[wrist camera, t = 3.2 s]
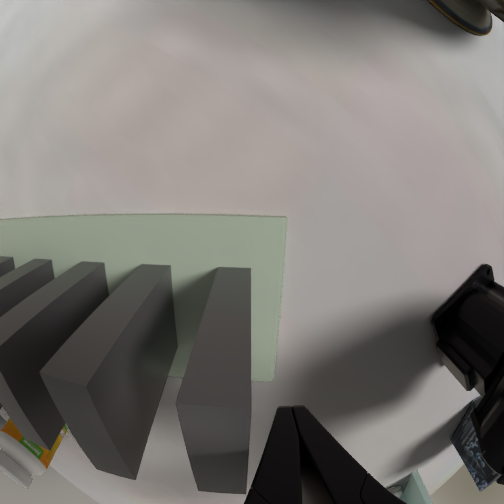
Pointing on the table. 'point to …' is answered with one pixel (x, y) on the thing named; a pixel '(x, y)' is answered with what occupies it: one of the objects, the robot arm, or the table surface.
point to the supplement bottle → (24, 455)
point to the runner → (170, 263)
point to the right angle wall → (413, 491)
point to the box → (472, 451)
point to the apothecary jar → (471, 13)
